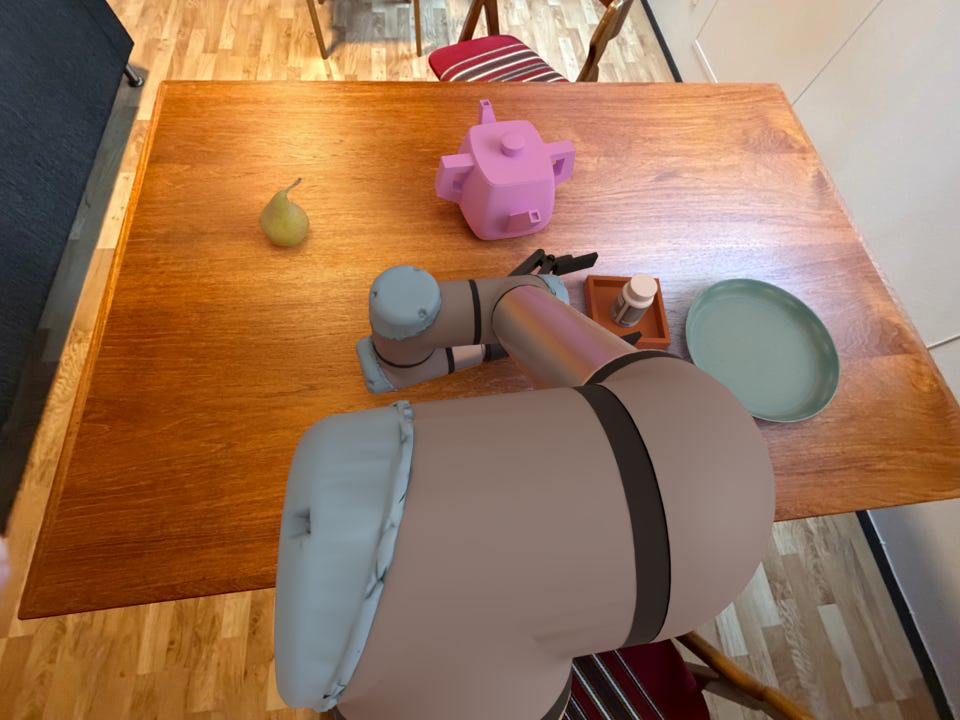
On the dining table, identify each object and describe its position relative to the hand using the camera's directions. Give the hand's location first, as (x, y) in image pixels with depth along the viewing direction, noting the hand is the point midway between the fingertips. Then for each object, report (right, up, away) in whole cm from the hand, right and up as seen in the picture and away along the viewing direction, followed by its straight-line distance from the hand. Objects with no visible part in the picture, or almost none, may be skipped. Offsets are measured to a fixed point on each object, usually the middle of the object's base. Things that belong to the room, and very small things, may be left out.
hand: (615, 297), depth 78 cm
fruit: (-49, +10, +8) cm, 50 cm away
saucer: (+23, -8, +8) cm, 26 cm away
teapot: (-16, +16, +15) cm, 28 cm away
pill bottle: (+3, -2, +8) cm, 9 cm away
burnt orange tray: (+3, -2, +8) cm, 9 cm away
